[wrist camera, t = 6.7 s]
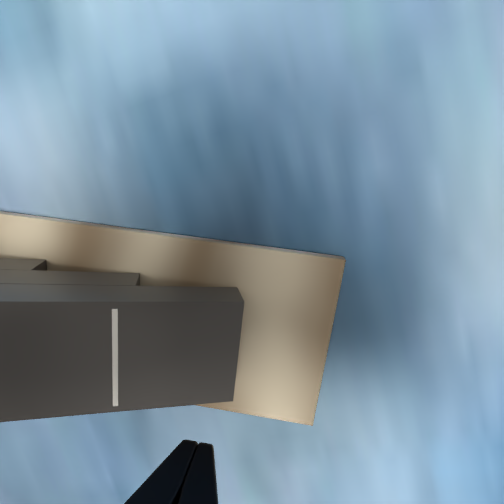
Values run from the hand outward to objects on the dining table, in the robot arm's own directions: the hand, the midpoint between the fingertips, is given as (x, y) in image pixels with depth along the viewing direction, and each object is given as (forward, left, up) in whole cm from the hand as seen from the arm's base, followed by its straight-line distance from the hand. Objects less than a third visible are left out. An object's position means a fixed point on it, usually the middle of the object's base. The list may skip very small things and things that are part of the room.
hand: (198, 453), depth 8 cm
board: (-6, +6, -7) cm, 11 cm away
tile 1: (0, 0, -6) cm, 6 cm away
